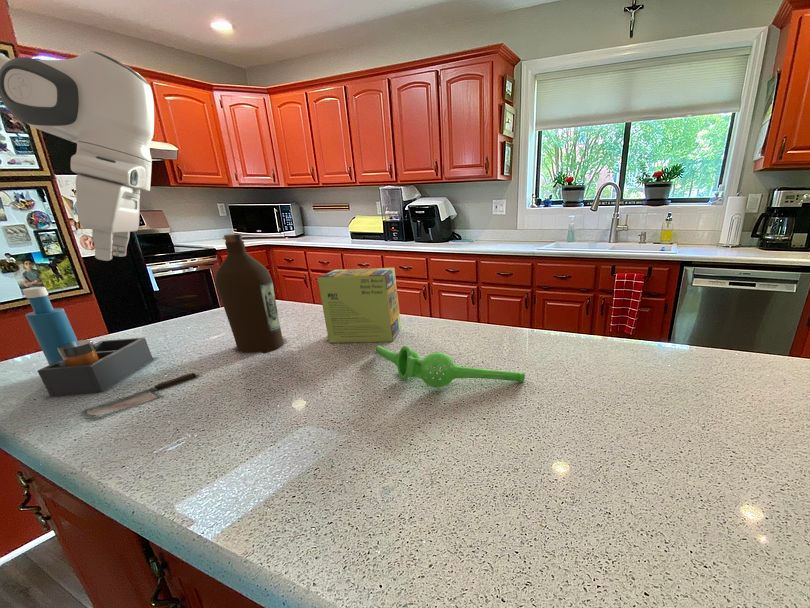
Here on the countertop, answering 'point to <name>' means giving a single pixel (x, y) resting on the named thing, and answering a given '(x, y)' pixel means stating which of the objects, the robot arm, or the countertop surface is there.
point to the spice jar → (78, 353)
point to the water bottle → (48, 323)
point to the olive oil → (248, 299)
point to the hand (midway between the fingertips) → (111, 257)
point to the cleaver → (140, 396)
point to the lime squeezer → (421, 368)
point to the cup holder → (97, 368)
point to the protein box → (360, 305)
